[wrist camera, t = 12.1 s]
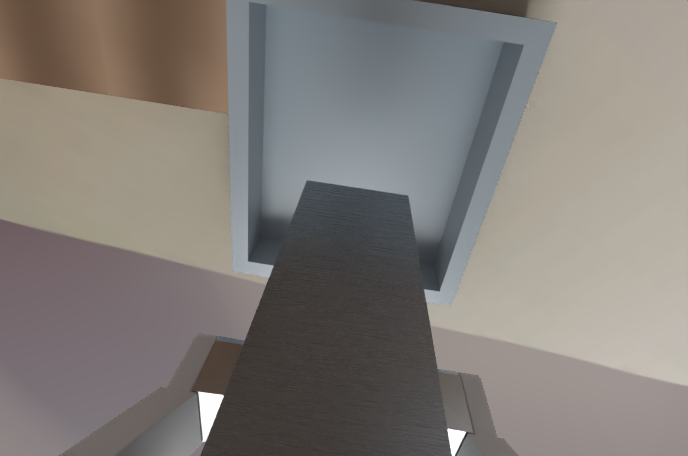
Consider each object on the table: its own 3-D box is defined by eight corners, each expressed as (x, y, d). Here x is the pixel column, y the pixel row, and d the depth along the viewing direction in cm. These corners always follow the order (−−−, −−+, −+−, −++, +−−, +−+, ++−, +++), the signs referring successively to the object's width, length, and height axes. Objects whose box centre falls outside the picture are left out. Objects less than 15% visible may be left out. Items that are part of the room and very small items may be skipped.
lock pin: (408, 195, 15) (535, 954, 3) (388, 276, 17) (419, 926, 5) (306, 180, 15) (33, 884, 3) (299, 263, 17) (117, 883, 5)
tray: (526, 17, 20) (557, 22, 16) (442, 268, 28) (451, 306, 25) (252, -26, 20) (225, -30, 16) (250, 237, 28) (232, 271, 25)
